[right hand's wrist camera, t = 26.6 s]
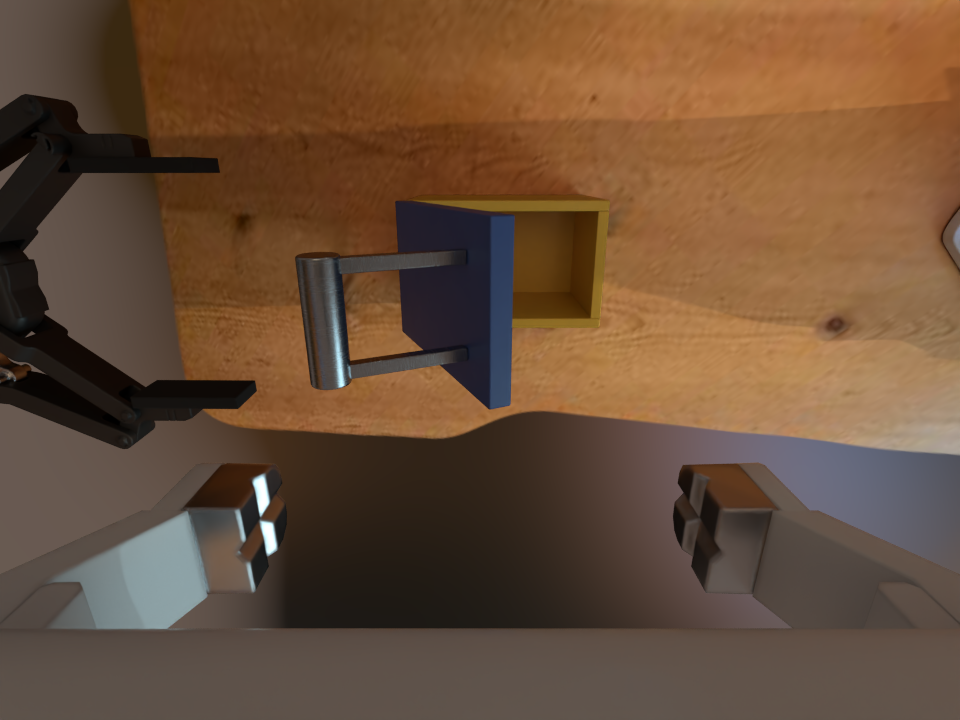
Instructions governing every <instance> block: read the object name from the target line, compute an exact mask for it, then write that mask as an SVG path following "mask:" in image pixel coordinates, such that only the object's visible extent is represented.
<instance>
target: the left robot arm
mask: <svg viewBox="0 0 960 720" xmlns="http://www.w3.org/2000/svg"><path fill="white" fill-rule="evenodd" d="M77 119H78V112H77V110H76V108H75V106H74V105H73V104H72V103H70V102H68V101H64V100H59V99H53V98H47V97H41V96H34V95H28V94H24V95H21V96H20V97H18V98H17V99H15V100H14V101H12V102H11V103H9V104H8V105H6V106H5V107H3V108H2V109H1V110H0V171H2V170H3V169H5V168H6V167H8V166H9V165H11V164H12V163H14V162H15V161H17V160H19V159H20V158H22V157H23V156H25V155H26V154H28V153H29V152H30V153H29V154H28V155H27V157H26V158H25V159H24V160H23V162H22V163H21V164H20V166H19V167H18V168H17V169H16V171H15V172H14V173H13V174H12V176H11V177H10V178H9V179H8V181H7V182H6V183H5V185H4V186H3V187H2V188H1V190H0V403H3V404H10V405H13V406H15V407H18V408H21V409H23V410H26V411H28V412H31V413H33V414H36V415H38V416H41V417H43V418H46V419H48V420H51V421H53V422H56V423H58V424H61V425H63V426H66V427H68V428H71V429H74V430H76V431H78V432H81V433H83V434H86V435H89V436H91V437H94V438H96V439H99V440H101V441H104V442H106V443H109V444H111V445H114V446H116V447H119V448H122V449H128V448H130V447H131V446H132V445H134V444H135V443H136V442H138V441H139V440H140V439H142V438H143V437H144V436H145V435H147V434H148V433H149V432H150V431H152V430H153V429H154V428H155V422H154V421H169V420H170V421H175V420H177V421H185V420H188V419H190V418H193V417H194V416H195V415H196V414H197V413H199V412H200V411H201V410H202V409H238V408H239V407H240V406H242V405H243V404H244V403H245V402H246V401H247V400H248V399H249V398H250V397H251V396H252V395H253V394H254V393H255V392H256V391H257V390H256V384H255V381H232V380H157V381H155V382H153V383H152V384H150V385H149V386H147V387H145V386H143V385H141V384H140V383H138V382H137V381H135V380H134V379H132V378H131V377H129V376H128V375H126V374H125V373H123V372H122V371H120V370H119V369H117V368H116V367H114V366H113V365H111V364H110V363H108V362H106V361H105V360H104V359H102V358H100V357H99V356H97V355H96V354H94V353H93V352H91V351H90V350H88V349H87V348H85V347H84V346H82V345H81V344H79V343H78V342H76V341H75V340H73V339H72V338H70V337H69V336H68V335H67V334H68V331H67V329H66V328H65V327H63V326H62V325H60V324H58V323H57V322H55V321H54V320H52V319H51V318H49V317H48V316H46V315H45V314H44V313H45V311H46V310H49V307H48V304H47V301H46V298H45V296H44V294H43V292H42V291H41V289H40V287H39V285H38V271H37V268H36V265H35V261H34V260H31V259H30V260H29V259H28V257H27V256H26V255H25V254H24V252H23V251H24V249H25V248H26V247H27V246H28V245H29V244H30V242H31V241H32V240H33V239H34V238H35V236H36V235H37V234H38V230H37V229H36V228H37V227H38V225H39V224H40V223H41V222H42V221H43V220H44V218H45V217H46V216H47V215H48V214H49V212H50V211H51V210H52V209H53V208H54V206H55V205H56V204H57V203H58V202H59V200H60V199H61V198H62V197H63V196H64V195H65V193H66V192H67V191H68V190H69V188H70V187H71V186H72V185H73V184H74V183H75V181H76V180H77V179H78V178H79V177H80V175H81V174H82V173H220V170H219V164H218V159H217V158H197V157H151V154H150V149H149V145H148V140H147V139H145V138H142V137H140V136H137V135H127V134H88V133H86V132H85V131H84V130H83V129H82V128H81V127H80V126H79V124H78V122H77ZM31 331H32V332H34V333H35V334H34V335H32V336H29V337H26V336H27V335H28V334H29V333H30V332H31ZM8 358H10V359H12V360H14V361H17V362H27V363H29V364H31V365H33V366H34V367H36V368H37V369H39V370H41V371H42V372H44V373H45V374H42V373H38V372H33V371H31V367H30V366H29V365H27V364H24V365H19V364H16V363H13V362H12V361H10V360H9V359H8ZM46 374H47V375H46Z"/></svg>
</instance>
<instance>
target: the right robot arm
mask: <svg viewBox="0 0 960 720" xmlns="http://www.w3.org/2000/svg"><path fill="white" fill-rule="evenodd" d="M943 243H944V245H945V247H946V248H947V250H948V251H949V253H950V255H951V256H952V258H953V260H954V261H955V263H956V264H957V266H958V268H959V269H960V209H959V210H958V211H957V213H956V214H955V215H954V217H953V218H952V219H951V221H950V222H949V224H948V225H947V227H946V229H945V231H944V233H943ZM281 484H282V479H281V474H280V469H279V468H278V467H277V466H276V465H275V464H241V463H226V464H225V463H201V464H197V465H195V466H194V467H193V468H192V469H191V470H190V471H189V472H188V473H187V474H186V475H185V476H184V477H183V478H182V479H181V480H180V481H179V482H178V483H177V484H176V485H175V486H174V487H173V488H172V489H171V490H170V491H169V492H168V493H167V494H166V495H165V496H164V497H163V498H162V499H161V500H160V501H159V502H158V503H157V504H156V505H155V506H154V507H153V508H152V509H151V510H150V511H140V512H138V513H136V514H133V515H131V516H129V517H127V518H124V519H122V520H120V521H118V522H116V523H113V524H111V525H109V526H107V527H104V528H102V529H100V530H98V531H96V532H93V533H91V534H89V535H87V536H84V537H82V538H80V539H78V540H75V541H73V542H71V543H69V544H67V545H64V546H62V547H60V548H58V549H56V550H53V551H51V552H49V553H47V554H44V555H42V556H40V557H38V558H35V559H33V560H31V561H29V562H27V563H24V564H22V565H20V566H18V567H15V568H13V569H11V570H9V571H6V572H4V573H2V574H0V720H960V574H958V573H955V572H953V571H951V570H949V569H946V568H944V567H942V566H940V565H938V564H935V563H933V562H931V561H929V560H926V559H924V558H922V557H920V556H918V555H915V554H913V553H911V552H909V551H907V550H904V549H902V548H900V547H898V546H895V545H893V544H891V543H889V542H887V541H884V540H882V539H880V538H878V537H875V536H873V535H871V534H869V533H867V532H864V531H862V530H860V529H858V528H856V527H853V526H851V525H849V524H847V523H844V522H842V521H840V520H838V519H836V518H833V517H831V516H829V515H827V514H824V513H822V512H820V511H810V510H809V509H808V508H807V507H806V506H805V505H804V504H803V503H802V502H801V501H800V500H799V499H798V498H797V497H796V496H795V495H794V494H793V493H792V492H791V491H790V490H789V489H788V488H787V487H786V486H785V485H784V484H783V483H782V482H781V481H780V480H779V479H778V478H777V477H776V476H775V475H774V474H773V473H772V472H771V471H770V470H769V469H768V468H767V467H766V466H765V465H763V464H760V463H736V464H699V465H683V466H682V468H681V470H680V473H679V479H678V484H679V486H680V488H681V489H682V491H683V492H684V493H683V494H682V495H681V496H680V497H679V498H678V499H677V500H676V501H675V504H674V513H673V521H674V531H675V534H676V537H677V540H678V542H679V544H680V546H681V548H682V550H684V551H685V552H687V553H688V554H690V555H691V556H693V559H692V565H691V567H692V568H693V570H694V572H695V574H696V576H697V578H698V579H699V581H700V583H701V585H702V587H703V589H704V590H705V592H706V593H728V594H753V597H754V598H755V599H756V600H758V601H759V602H760V603H762V604H763V605H764V606H765V607H767V608H768V609H769V610H770V611H772V612H773V613H774V614H775V615H777V616H778V617H779V618H780V619H782V620H783V621H784V622H786V623H787V624H788V625H789V626H791V627H792V628H793V629H167V628H168V627H170V626H171V625H172V624H173V623H175V622H176V621H177V620H178V619H180V618H181V617H182V616H184V615H185V614H186V613H187V612H189V611H190V610H191V609H192V608H194V607H195V606H196V605H197V604H199V603H200V602H201V601H202V600H204V599H205V598H206V597H207V594H231V593H254V592H255V590H256V589H257V587H258V585H259V583H260V581H261V579H262V578H263V576H264V574H265V572H266V570H267V568H268V567H269V565H268V559H267V556H269V555H270V554H272V553H273V552H275V551H276V550H278V548H279V546H280V544H281V542H282V540H283V537H284V533H285V529H286V525H287V511H286V504H285V501H284V500H283V499H282V498H281V497H280V496H279V495H278V494H277V493H276V492H277V491H278V489H279V488H280V486H281Z"/></svg>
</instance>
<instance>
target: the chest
mask: <svg viewBox="0 0 960 720" xmlns="http://www.w3.org/2000/svg"><path fill="white" fill-rule="evenodd" d="M406 201H418V202H425V203H433V204H440V205H447V206H454V207H462V208H469V209H476V210H483V211H491V212H498V213H505V214H512V215H514V216H515V220H514V265H513V311H512V328H598V327H599V324H600V314H601V302H602V290H603V278H604V266H605V254H606V242H607V230H608V218H609V204H610V201H609V200H606V199H600V198H595V197H590V196H585V195H420V196H417V197H415V198H412V199H409V200H406Z"/></svg>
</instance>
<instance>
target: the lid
mask: <svg viewBox="0 0 960 720" xmlns="http://www.w3.org/2000/svg"><path fill="white" fill-rule="evenodd" d="M395 203H396V221H397V239H398V252H396V253H380V254H364V255H348V256H340V255H339V254H338V253H333V252H311V253H303V254H299V255H297V256H296V257H295V261H296V269H297V277H298V285H299V293H300V301H301V309H302V317H303V325H304V333H305V341H306V349H307V357H308V365H309V373H310V381H311V385H312V387H314V388H316V389H320V390H333V389H338V388H342V387H345V386H347V385H349V384H350V383H351V381H352V379H354V378H360V377H366V376H373V375H379V374H385V373H392V372H398V371H404V370H411V369H417V368H423V367H430V366H436V365H441V366H442V367H443V368H444V369H445V370H446V371H447V372H448V373H449V374H450V375H452V376H453V377H454V378H455V379H456V380H457V381H458V382H459V383H460V384H462V385H463V386H464V387H465V388H466V389H467V390H468V391H469V392H470V393H472V394H473V395H474V396H475V397H476V398H477V399H478V400H479V401H480V402H481V403H483V404H484V405H485V406H486V407H487V408H488V409H495V408H500V407H505V406H509V405H510V402H511V356H512V311H513V265H514V220H515V216H514V215H512V214H505V213H498V212H491V211H483V210H476V209H469V208H462V207H454V206H447V205H440V204H433V203H425V202H418V201H396V202H395ZM389 270H399V275H400V293H401V311H402V330H403V332H404V333H405V334H406V335H407V336H408V337H409V338H411V339H412V340H413V341H414V342H415V343H416V344H417V345H418V346H419V347H421V348H422V349H423V350H422V351H415V352H408V353H401V354H394V355H387V356H380V357H373V358H366V359H359V360H352V361H350V355H349V344H348V333H347V323H346V312H345V302H344V291H343V280H342V274H349V273H362V272H375V271H389Z"/></svg>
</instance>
